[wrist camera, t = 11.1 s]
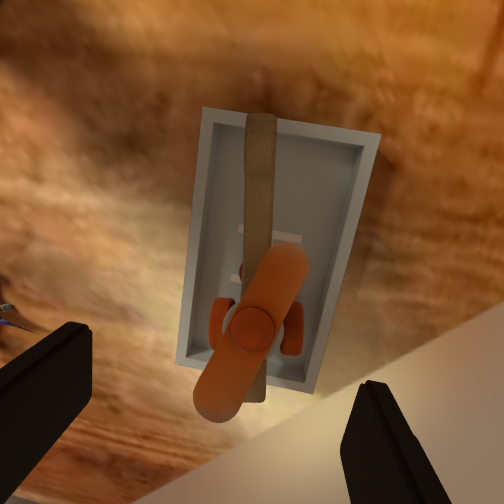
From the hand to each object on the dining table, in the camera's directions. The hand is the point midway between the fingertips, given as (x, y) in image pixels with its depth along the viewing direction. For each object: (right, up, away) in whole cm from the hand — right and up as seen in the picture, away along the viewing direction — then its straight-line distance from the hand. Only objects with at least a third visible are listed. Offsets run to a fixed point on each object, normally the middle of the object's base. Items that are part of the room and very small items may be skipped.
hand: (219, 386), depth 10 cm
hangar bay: (+2, +4, +18) cm, 19 cm away
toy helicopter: (+2, +4, +17) cm, 18 cm away
